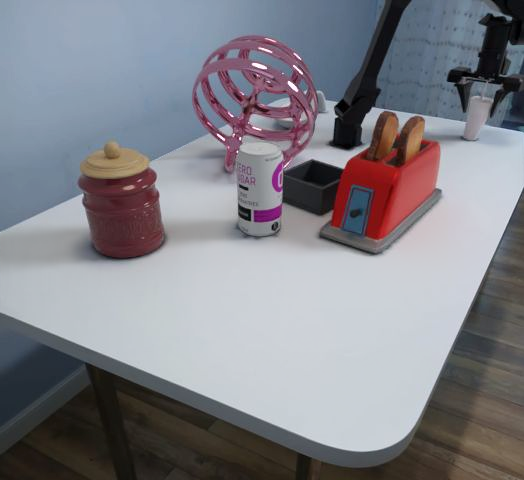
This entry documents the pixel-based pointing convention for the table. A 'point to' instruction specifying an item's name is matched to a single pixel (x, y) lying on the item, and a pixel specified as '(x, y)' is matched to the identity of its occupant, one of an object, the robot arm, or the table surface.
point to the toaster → (385, 186)
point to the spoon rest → (289, 122)
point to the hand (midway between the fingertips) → (477, 115)
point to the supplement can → (259, 187)
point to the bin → (311, 186)
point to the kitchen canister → (121, 202)
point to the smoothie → (477, 115)
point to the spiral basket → (250, 103)
